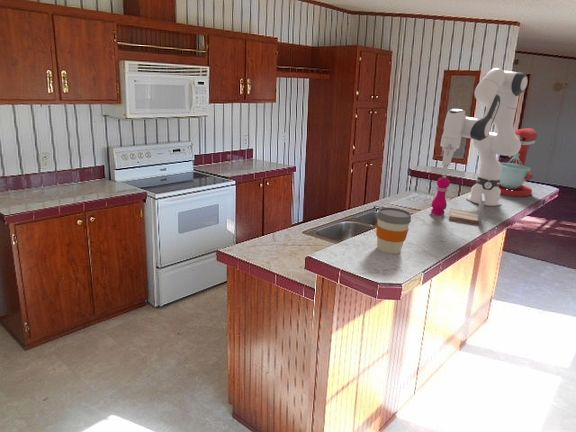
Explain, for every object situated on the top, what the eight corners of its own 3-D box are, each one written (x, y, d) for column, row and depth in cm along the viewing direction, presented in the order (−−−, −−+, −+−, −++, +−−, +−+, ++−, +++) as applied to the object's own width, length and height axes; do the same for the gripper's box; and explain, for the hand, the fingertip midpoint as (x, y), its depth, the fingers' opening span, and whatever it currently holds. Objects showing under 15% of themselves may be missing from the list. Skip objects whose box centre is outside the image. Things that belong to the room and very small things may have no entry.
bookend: (450, 211, 239) (454, 189, 235) (478, 216, 234) (484, 193, 231) (448, 220, 224) (453, 196, 221) (479, 225, 220) (484, 201, 216)
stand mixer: (483, 190, 294) (497, 126, 282) (498, 184, 317) (512, 125, 305) (523, 199, 279) (539, 132, 267) (536, 192, 303) (552, 130, 291)
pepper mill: (445, 216, 229) (453, 177, 223) (430, 214, 231) (437, 175, 225) (444, 212, 236) (451, 174, 230) (429, 210, 237) (436, 172, 231)
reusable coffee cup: (412, 252, 178) (418, 215, 173) (388, 257, 171) (394, 218, 166) (389, 241, 188) (394, 206, 183) (365, 245, 181) (370, 208, 176)
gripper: (456, 147, 212) (450, 176, 216) (457, 142, 231) (452, 169, 235) (442, 145, 214) (436, 174, 218) (444, 140, 233) (439, 167, 237)
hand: (444, 171), depth 227 cm, fingers open, 8 cm apart
